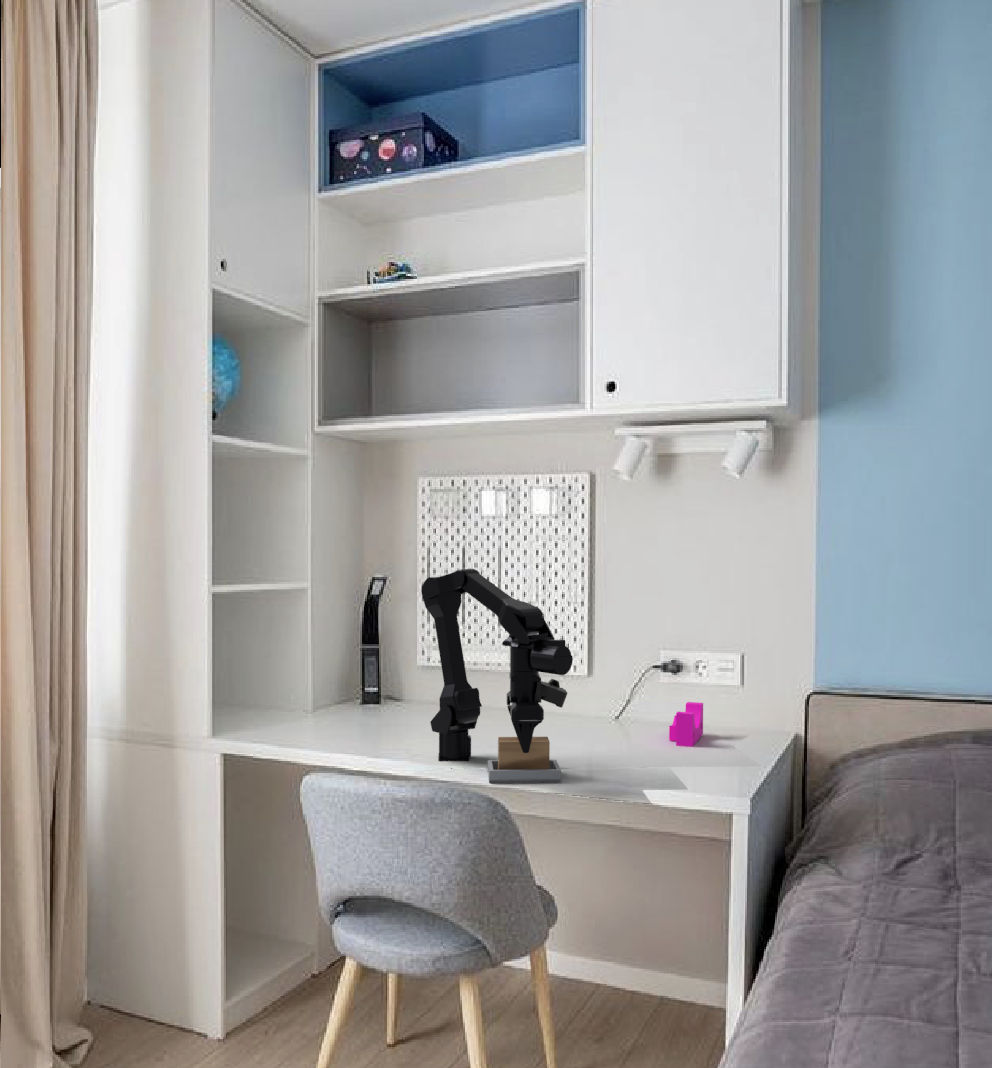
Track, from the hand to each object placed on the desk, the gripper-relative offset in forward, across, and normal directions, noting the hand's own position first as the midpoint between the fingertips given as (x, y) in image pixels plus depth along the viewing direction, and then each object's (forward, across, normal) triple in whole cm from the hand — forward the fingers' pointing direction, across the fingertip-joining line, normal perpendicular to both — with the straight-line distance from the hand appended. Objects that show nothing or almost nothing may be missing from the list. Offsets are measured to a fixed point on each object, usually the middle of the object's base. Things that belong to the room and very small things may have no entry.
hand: (524, 747), depth 197 cm
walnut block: (+5, 0, 0) cm, 5 cm away
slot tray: (+6, 0, 0) cm, 6 cm away
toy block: (+6, +34, -41) cm, 54 cm away
